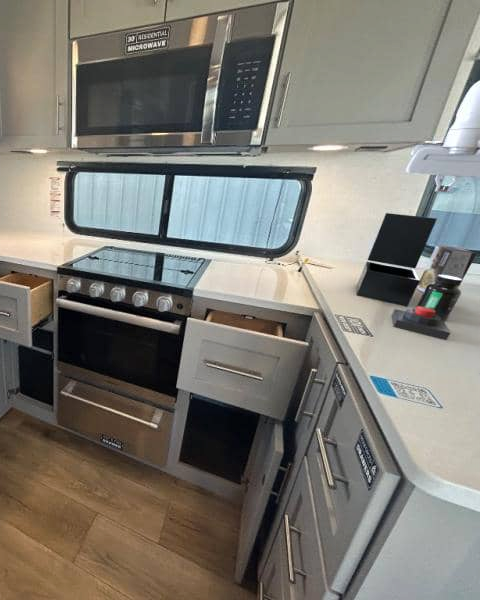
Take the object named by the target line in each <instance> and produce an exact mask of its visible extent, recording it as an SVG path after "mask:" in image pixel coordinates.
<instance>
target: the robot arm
mask: <svg viewBox="0 0 480 600" xmlns="http://www.w3.org/2000/svg"><path fill="white" fill-rule="evenodd" d="M411 156H412V157H411V159H410V160H409V162H408V164H407V166H406V167H405V172H406V173H407V174H411V175H412V174H414V175H428V176H429V175H431V176H435V179H434V180H435V184H436V187H435V190H434V192H438V193H449V192H450V191H451V189H452V187H453V186H455V185H456V184H457V183H459V182H460V181H461V180H462V178H463V177H465V178H480V80H477V81H476V82H475V83H474V84H473V85H472V86H470V88H469V89H468V91H467V92H466V94H465V96H464V97H463V99H462V101H461V103H460V105H459V107H458V109H457V112H456V115H455V120H454V122H453V124H452V125H451V127H450V128H449V129H448V132H447V134H446V136H445V138H444V140H441V141H439V140H438V141H437V140H436V141H429V140H424V141H422V142H419V143H417V144H416V145H415V146H413V149H412V151H411ZM446 176H449V177H452V182H450V183H449V184H447V185H442V183H441V180H443V179H444V178H445V177H446Z"/></svg>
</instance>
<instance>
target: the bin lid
mask: <svg viewBox="0 0 480 600" xmlns="http://www.w3.org/2000/svg"><path fill="white" fill-rule="evenodd" d="M437 220H438V218H437V217H428V216H427V217H426V216H419V215H410V214H409V215H408V214H399V213H390V212H389V213H388V212H385V214H384V216H383V220H382V222H381V224H380V227H379V229H378V232H377V234H376V236H375V239H374V241H373V245H372V246H371V249H370V252H369V254H368V257H367V259H366V261H368V262H373V263H379V264H385V265H391V266H397V267H402V268H408V269H416V267H417V266H418V264H419V261H420V259H421V256H422V254H423V252H424V249H425V248H426V245H427V243H428V241H429V238H430V237H431V234H432V232H433V229H434V227H435V225H436V222H437Z"/></svg>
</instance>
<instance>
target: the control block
mask: <svg viewBox="0 0 480 600" xmlns="http://www.w3.org/2000/svg"><path fill="white" fill-rule="evenodd" d="M415 309H416V308H407V309H406V310H405V311H404V310H401V309H397V308H394V309H393V311H392V312H391V313H392V314H391V320H392V327H393V328H397V329H400V330H405V331H408V332H411V333H416V334H420V335H423V336H428V337H432V338H436V339H440V340H444V341H447V340H448V338H449V337H450V335H451V331H450V329H449V327H448V325H447V324H446V322H445V320H441V318H440V316H438V315H436V314H434V316H433V317H425V316H421V315H418V314H416V313H414V311H415Z"/></svg>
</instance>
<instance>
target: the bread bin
mask: <svg viewBox="0 0 480 600" xmlns="http://www.w3.org/2000/svg"><path fill="white" fill-rule="evenodd" d="M419 282H420V278H419V276H418V274H417V272H416V270H415V269H413V268H408V267H402V266H396V265H391V264H385V263H379V262H373V261H366V262H365V264H364V267H363V269H362V272H361V274H360V277H359V279H358V281H357V284H356V295H355V296H358V297H362V298H366V299H371V300H375V301H380V302H383V303H388V304H393V305H397V306H401V307H406V308H407V307H408V306H409V304H410V302H411V300H412V298H413V296H414V294H415V292H416V290H417V286H418V284H419Z"/></svg>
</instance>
